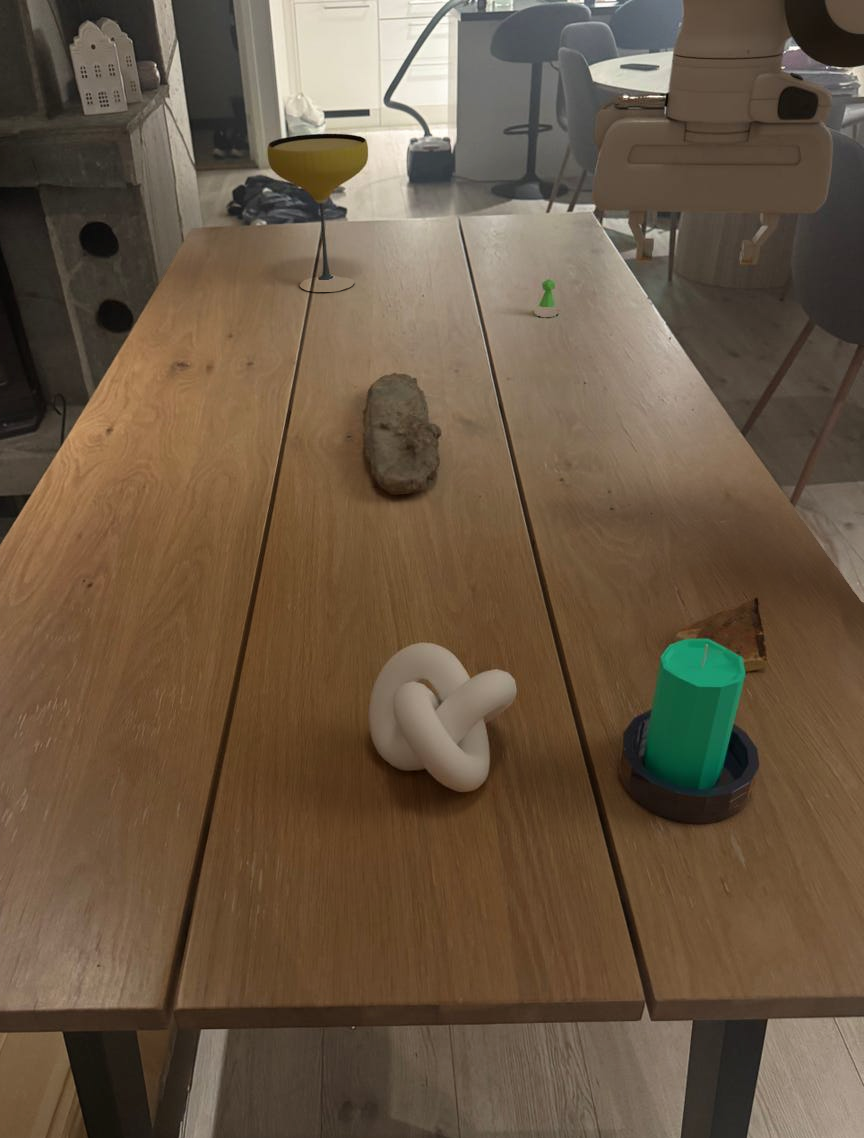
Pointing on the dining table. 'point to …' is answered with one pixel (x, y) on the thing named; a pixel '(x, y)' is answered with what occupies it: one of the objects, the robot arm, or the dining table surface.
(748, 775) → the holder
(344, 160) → the cocktail glass
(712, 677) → the candle
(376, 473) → the elongated rock
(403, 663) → the white knot sculpture
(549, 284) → the game piece
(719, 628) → the shard
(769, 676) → the dining table surface
